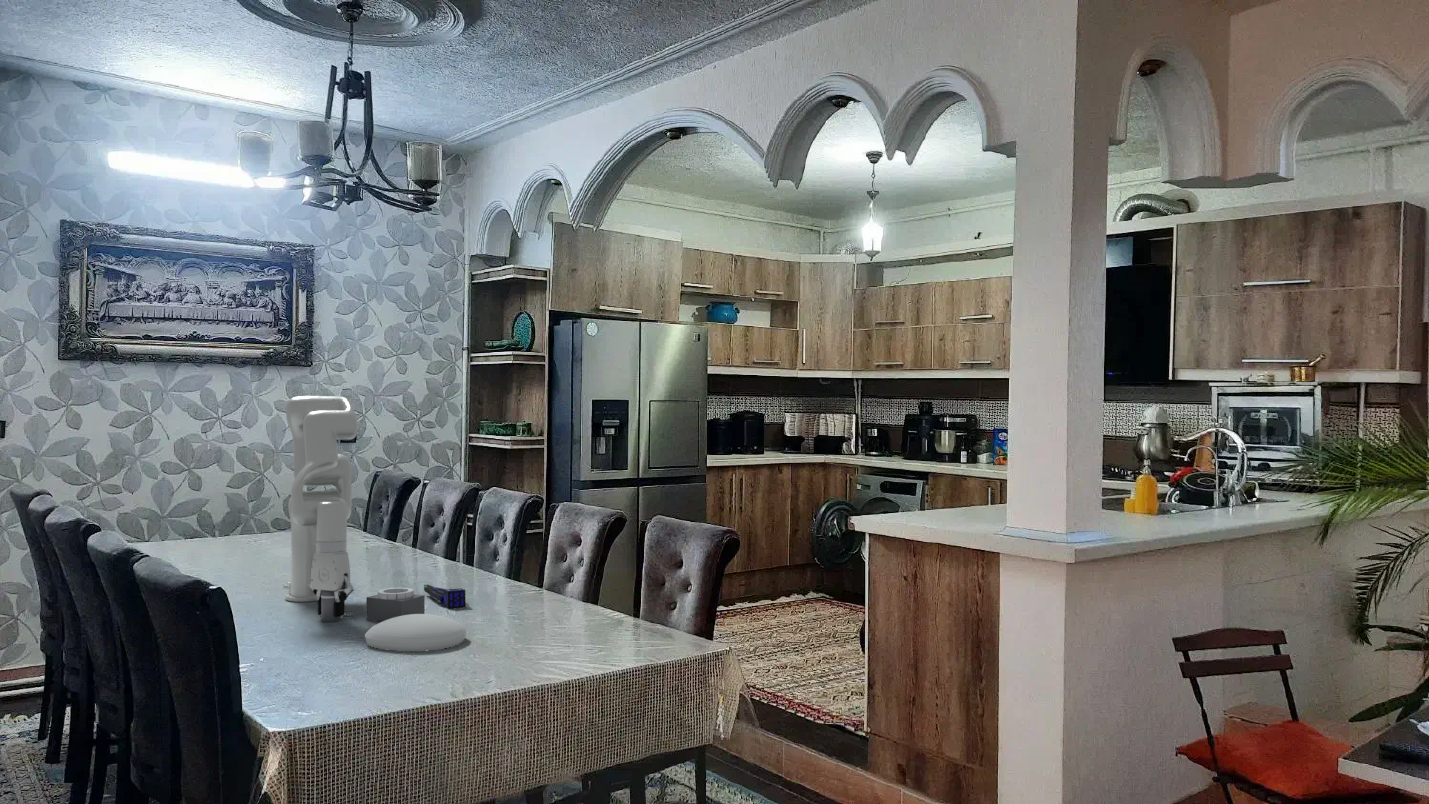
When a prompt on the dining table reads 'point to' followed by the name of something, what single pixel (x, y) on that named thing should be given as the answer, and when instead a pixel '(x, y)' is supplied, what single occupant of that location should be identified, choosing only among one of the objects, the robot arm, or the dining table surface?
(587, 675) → the dining table surface
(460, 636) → the decorative item
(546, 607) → the dining table surface
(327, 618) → the lens
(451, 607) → the toy
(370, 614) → the camera body
